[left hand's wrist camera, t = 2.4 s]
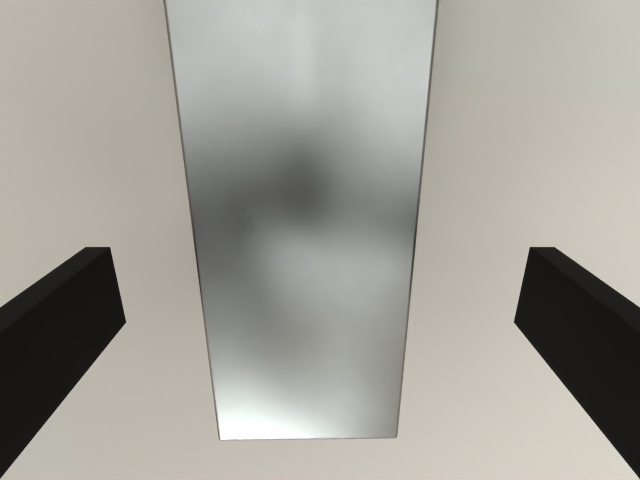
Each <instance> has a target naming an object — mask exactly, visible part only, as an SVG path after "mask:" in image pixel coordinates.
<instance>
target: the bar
mask: <svg viewBox="0 0 640 480" xmlns="http://www.w3.org/2000/svg"><path fill="white" fill-rule="evenodd" d="M163 1H164V9H165V17H166V25H167V33H168V41H169V48H170V56H171V64H172V72H173V80H174V88H175V96H176V104H177V112H178V120H179V128H180V136H181V143H182V151H183V159H184V167H185V175H186V183H187V191H188V199H189V207H190V215H191V223H192V231H193V239H194V246H195V254H196V262H197V270H198V278H199V286H200V294H201V302H202V310H203V318H204V326H205V334H206V341H207V349H208V357H209V365H210V373H211V381H212V389H213V397H214V405H215V413H216V421H217V429H218V437H219V440H276V439H357V438H396V437H397V433H398V423H399V412H400V402H401V391H402V381H403V371H404V360H405V350H406V339H407V329H408V319H409V308H410V298H411V287H412V277H413V266H414V256H415V246H416V235H417V225H418V214H419V204H420V194H421V183H422V173H423V162H424V152H425V141H426V131H427V121H428V110H429V100H430V89H431V79H432V69H433V58H434V48H435V37H436V27H437V16H438V6H439V0H163Z"/></svg>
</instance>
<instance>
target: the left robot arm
mask: <svg viewBox="0 0 640 480" xmlns="http://www.w3.org/2000/svg"><path fill="white" fill-rule="evenodd" d="M125 323H126V320H125V315H124V310H123V306H122V301H121V296H120V292H119V287H118V282H117V278H116V273H115V268H114V263H113V259H112V254H111V249H110V247H85V248H84V249H82V250H81V251H79V252H78V253H77V254H75V255H74V256H72V257H71V258H70V259H68V260H67V261H65V262H64V263H62V264H61V265H60V266H58V267H57V268H55V269H54V270H53V271H51V272H50V273H48V274H47V275H46V276H44V277H43V278H41V279H40V280H38V281H37V282H36V283H34V284H33V285H31V286H30V287H29V288H27V289H26V290H24V291H23V292H22V293H20V294H19V295H17V296H16V297H14V298H13V299H12V300H10V301H9V302H7V303H6V304H5V305H3V306H2V307H0V478H1V477H2V476H3V475H4V473H5V472H6V471H7V470H8V468H9V467H10V466H11V465H12V463H13V462H14V461H15V460H16V458H17V457H18V456H19V455H20V454H21V452H22V451H23V450H24V449H25V447H26V446H27V445H28V444H29V442H30V441H31V440H32V439H33V437H34V436H35V435H36V434H37V432H38V431H39V430H40V429H41V427H42V426H43V425H44V424H45V422H46V421H47V420H48V419H49V417H50V416H51V415H52V414H53V412H54V411H55V410H56V409H57V407H58V406H59V405H60V404H61V403H62V401H63V400H64V399H65V398H66V396H67V395H68V394H69V393H70V391H71V390H72V389H73V388H74V386H75V385H76V384H77V383H78V381H79V380H80V379H81V378H82V376H83V375H84V374H85V373H86V371H87V370H88V369H89V368H90V366H91V365H92V364H93V363H94V361H95V360H96V359H97V358H98V357H99V355H100V354H101V353H102V352H103V350H104V349H105V348H106V347H107V345H108V344H109V343H110V342H111V340H112V339H113V338H114V337H115V335H116V334H117V333H118V332H119V330H120V329H121V328H122V327H123V325H124V324H125ZM514 323H515V324H516V325H517V327H518V328H519V329H520V330H521V332H522V333H523V334H524V335H525V337H526V338H527V339H528V340H529V342H530V343H531V344H532V345H533V347H534V348H535V349H536V350H537V352H538V353H539V354H540V355H541V357H542V358H543V359H544V360H545V361H546V363H547V364H548V365H549V366H550V368H551V369H552V370H553V371H554V373H555V374H556V375H557V376H558V378H559V379H560V380H561V381H562V383H563V384H564V385H565V386H566V388H567V389H568V390H569V391H570V393H571V394H572V395H573V396H574V398H575V399H576V400H577V401H578V403H579V404H580V405H581V406H582V407H583V409H584V410H585V411H586V412H587V414H588V415H589V416H590V417H591V419H592V420H593V421H594V422H595V424H596V425H597V426H598V427H599V429H600V430H601V431H602V432H603V434H604V435H605V436H606V437H607V439H608V440H609V441H610V442H611V444H612V445H613V446H614V447H615V449H616V450H617V451H618V452H619V454H620V455H621V456H622V457H623V458H624V460H625V461H626V462H627V463H628V465H629V466H630V467H631V468H632V470H633V471H634V472H635V473H636V475H637V476H638V477H639V478H640V307H638V306H637V305H635V304H634V303H633V302H631V301H630V300H628V299H627V298H626V297H624V296H623V295H621V294H620V293H618V292H617V291H616V290H614V289H613V288H611V287H610V286H609V285H607V284H606V283H604V282H603V281H602V280H600V279H599V278H597V277H596V276H594V275H593V274H592V273H590V272H589V271H587V270H586V269H585V268H583V267H582V266H580V265H579V264H578V263H576V262H575V261H573V260H572V259H570V258H569V257H568V256H566V255H565V254H563V253H562V252H561V251H559V250H558V249H556V248H555V247H530V249H529V254H528V259H527V263H526V268H525V273H524V278H523V282H522V287H521V292H520V296H519V301H518V306H517V310H516V315H515V320H514Z"/></svg>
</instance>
